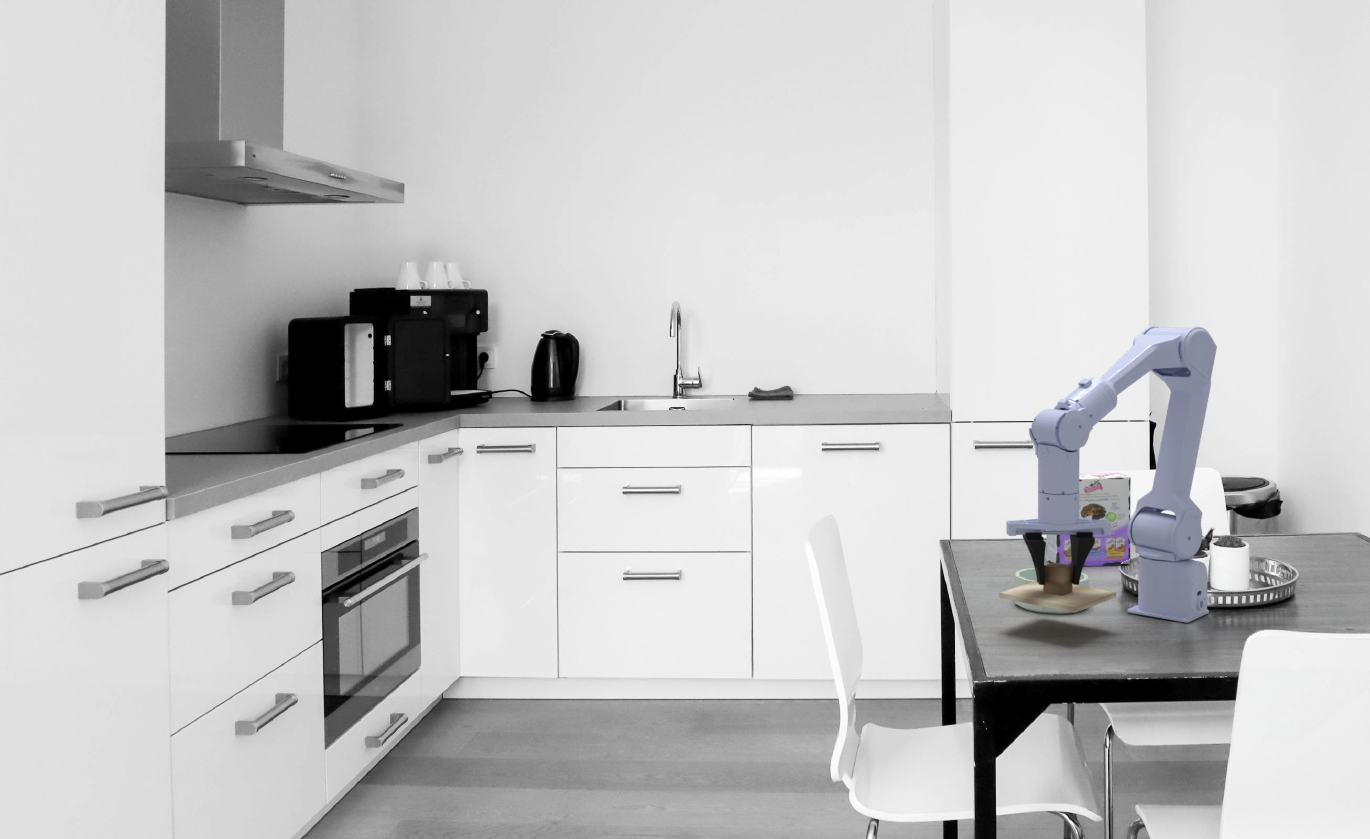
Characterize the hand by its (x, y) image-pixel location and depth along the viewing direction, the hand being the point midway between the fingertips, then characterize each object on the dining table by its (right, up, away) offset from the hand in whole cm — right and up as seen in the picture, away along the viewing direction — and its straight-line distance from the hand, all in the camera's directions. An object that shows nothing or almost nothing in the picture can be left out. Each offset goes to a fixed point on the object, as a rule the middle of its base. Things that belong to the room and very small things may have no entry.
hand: (1057, 583), depth 172 cm
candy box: (+20, -3, +45) cm, 49 cm away
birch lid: (0, -2, 0) cm, 2 cm away
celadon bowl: (+4, -6, +15) cm, 17 cm away
